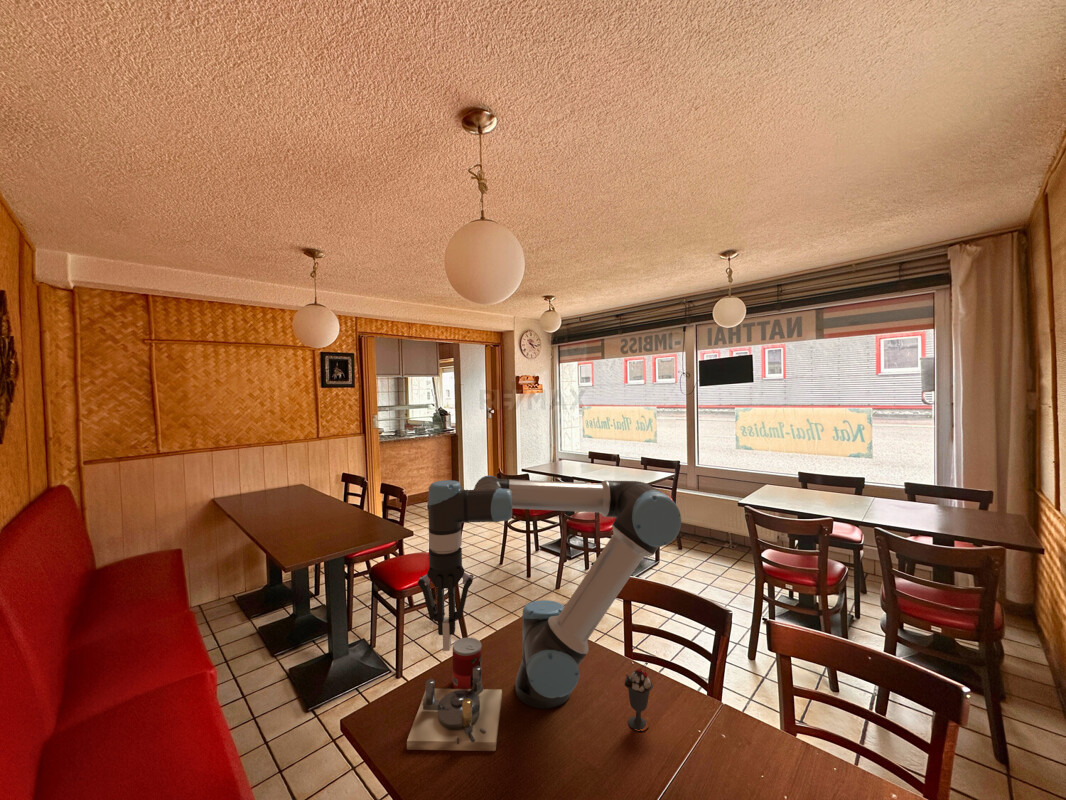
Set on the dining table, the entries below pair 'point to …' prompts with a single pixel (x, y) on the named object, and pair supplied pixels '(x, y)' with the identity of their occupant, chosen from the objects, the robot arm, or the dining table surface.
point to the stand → (437, 737)
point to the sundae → (638, 696)
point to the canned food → (465, 661)
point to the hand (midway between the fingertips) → (447, 647)
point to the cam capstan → (456, 704)
